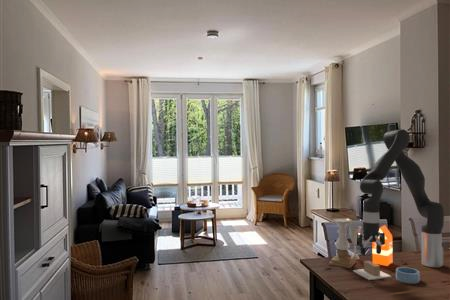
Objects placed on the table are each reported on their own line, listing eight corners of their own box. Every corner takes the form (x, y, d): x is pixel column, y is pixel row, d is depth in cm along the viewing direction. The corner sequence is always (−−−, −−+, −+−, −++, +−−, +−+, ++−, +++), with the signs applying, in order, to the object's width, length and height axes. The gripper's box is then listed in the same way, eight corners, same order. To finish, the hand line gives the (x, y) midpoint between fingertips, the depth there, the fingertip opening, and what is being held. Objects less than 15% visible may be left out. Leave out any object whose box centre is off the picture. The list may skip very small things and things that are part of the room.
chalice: (360, 262, 197) (360, 228, 197) (347, 260, 200) (347, 227, 200) (362, 258, 203) (362, 226, 203) (350, 256, 207) (350, 224, 206)
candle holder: (350, 269, 185) (350, 222, 185) (328, 266, 191) (328, 220, 191) (355, 263, 194) (355, 219, 194) (335, 260, 200) (335, 217, 200)
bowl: (408, 276, 175) (408, 266, 175) (424, 283, 166) (424, 272, 166) (391, 278, 172) (391, 268, 172) (406, 286, 163) (406, 275, 163)
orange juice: (372, 264, 193) (372, 226, 193) (377, 260, 200) (377, 223, 199) (387, 267, 188) (387, 228, 188) (392, 263, 194) (392, 225, 194)
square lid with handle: (373, 268, 184) (373, 258, 184) (390, 277, 172) (390, 266, 172) (353, 271, 181) (353, 261, 180) (369, 279, 169) (369, 268, 169)
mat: (374, 269, 185) (374, 268, 185) (392, 278, 172) (392, 277, 172) (351, 272, 181) (351, 271, 181) (369, 282, 168) (368, 280, 168)
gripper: (378, 218, 182) (378, 251, 182) (353, 220, 178) (353, 253, 178) (388, 221, 175) (388, 255, 175) (363, 223, 171) (363, 257, 171)
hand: (370, 254), depth 177 cm, fingers open, 8 cm apart
